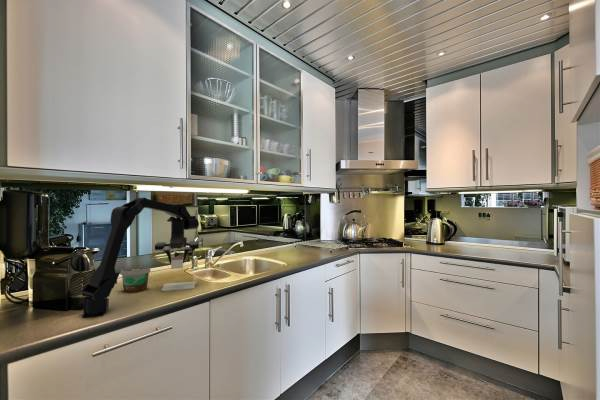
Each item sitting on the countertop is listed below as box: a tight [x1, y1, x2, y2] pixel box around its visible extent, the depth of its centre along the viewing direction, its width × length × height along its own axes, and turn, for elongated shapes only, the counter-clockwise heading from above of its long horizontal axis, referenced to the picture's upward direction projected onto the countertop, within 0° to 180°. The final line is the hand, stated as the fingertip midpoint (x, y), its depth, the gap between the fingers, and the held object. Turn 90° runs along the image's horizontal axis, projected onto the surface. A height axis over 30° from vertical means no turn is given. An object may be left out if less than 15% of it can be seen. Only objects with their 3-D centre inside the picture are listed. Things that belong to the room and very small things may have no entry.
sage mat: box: [161, 281, 196, 292], centre depth 132 cm, size 14×10×1 cm
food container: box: [119, 267, 151, 294], centre depth 125 cm, size 12×6×10 cm, turn 105°
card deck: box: [170, 256, 184, 270], centre depth 131 cm, size 5×7×4 cm
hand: (177, 263), depth 131 cm, fingers closed on card deck, 5 cm apart
